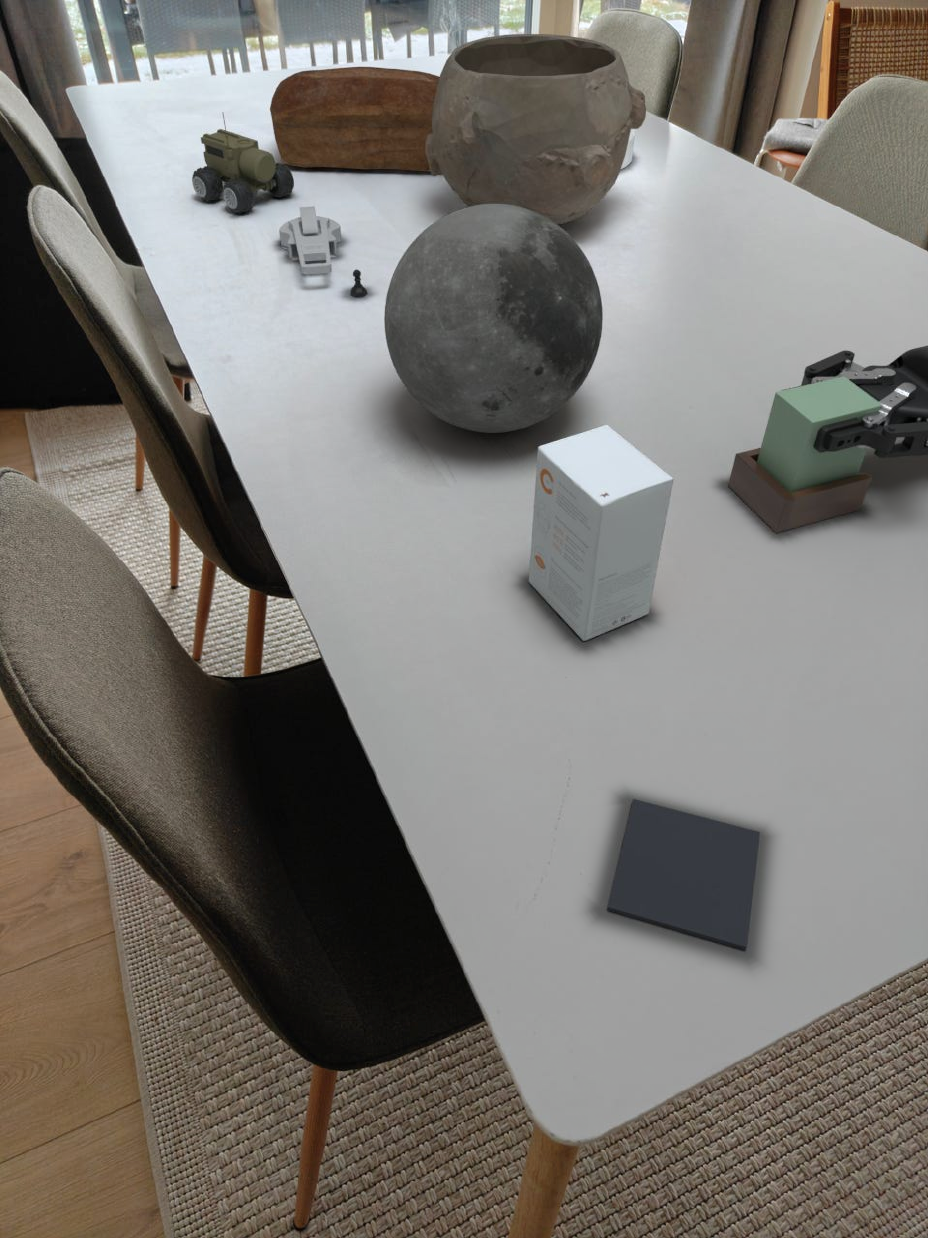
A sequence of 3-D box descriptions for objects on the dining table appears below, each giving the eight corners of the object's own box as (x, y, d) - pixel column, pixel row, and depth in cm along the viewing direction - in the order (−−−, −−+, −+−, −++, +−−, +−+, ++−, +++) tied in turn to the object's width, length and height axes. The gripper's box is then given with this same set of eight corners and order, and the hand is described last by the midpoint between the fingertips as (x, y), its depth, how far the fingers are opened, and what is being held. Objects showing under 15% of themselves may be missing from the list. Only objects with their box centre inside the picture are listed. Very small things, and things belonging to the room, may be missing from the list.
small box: (650, 615, 73) (677, 478, 64) (583, 644, 70) (601, 506, 61) (590, 556, 78) (607, 421, 69) (525, 581, 75) (534, 445, 66)
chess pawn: (346, 295, 112) (344, 270, 110) (355, 288, 113) (353, 264, 111) (361, 298, 111) (359, 274, 109) (369, 291, 113) (368, 267, 111)
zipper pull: (286, 294, 112) (281, 258, 109) (280, 234, 125) (275, 201, 122) (351, 288, 113) (348, 253, 110) (339, 230, 126) (336, 197, 123)
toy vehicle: (248, 178, 139) (234, 89, 131) (299, 196, 134) (288, 105, 126) (192, 199, 133) (174, 107, 125) (243, 219, 128) (228, 124, 120)
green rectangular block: (812, 472, 86) (844, 375, 79) (847, 502, 83) (883, 404, 76) (749, 489, 84) (775, 391, 77) (782, 521, 81) (812, 422, 74)
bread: (456, 179, 139) (455, 88, 131) (270, 173, 141) (258, 83, 132) (463, 148, 149) (463, 61, 141) (289, 143, 151) (279, 57, 142)
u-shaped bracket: (808, 464, 87) (818, 432, 85) (860, 509, 82) (872, 477, 80) (727, 485, 85) (735, 453, 82) (776, 533, 80) (786, 500, 78)
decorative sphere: (581, 365, 100) (601, 170, 86) (601, 475, 86) (629, 262, 72) (395, 365, 100) (385, 169, 86) (384, 474, 86) (369, 261, 72)
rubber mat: (758, 835, 59) (759, 831, 58) (745, 950, 53) (746, 947, 53) (632, 802, 60) (633, 798, 60) (607, 910, 55) (607, 907, 55)
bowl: (390, 238, 124) (381, 68, 110) (478, 169, 142) (480, 16, 128) (583, 276, 116) (600, 98, 102) (650, 197, 134) (673, 37, 120)
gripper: (1001, 462, 80) (838, 508, 75) (888, 381, 89) (737, 417, 85) (1039, 384, 74) (867, 428, 70) (915, 307, 84) (756, 341, 79)
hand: (797, 422), depth 77 cm, fingers closed on green rectangular block, 5 cm apart
